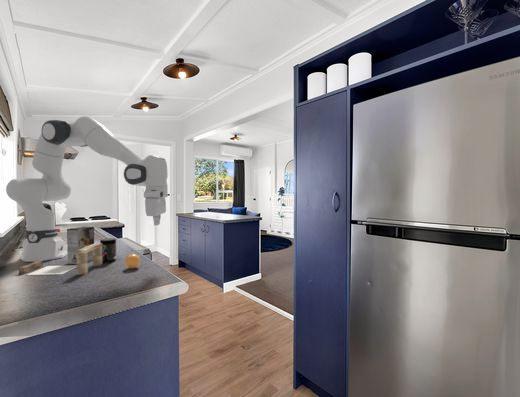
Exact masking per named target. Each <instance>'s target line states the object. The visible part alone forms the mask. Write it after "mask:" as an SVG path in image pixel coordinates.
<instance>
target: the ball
mask: <svg viewBox="0 0 520 397" xmlns="http://www.w3.org/2000/svg"><path fill="white" fill-rule="evenodd" d="M124 264H125V267H127V268H129V269H136V268H137V267H138V266H139V265H140V264H141V258H140V256H139V255H137V254H135V253H133V254H132V253H131V254H129V255H127V256H126V258H125V260H124Z"/></svg>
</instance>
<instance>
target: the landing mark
mask: <svg viewBox="0 0 520 397" xmlns="http://www.w3.org/2000/svg"><path fill="white" fill-rule="evenodd" d="M74 269H77V264H73V265H72V264H70V265H69V264H68V265H46V266H45V267H41V268H38V269H36V270H33V271H31V272H29V273H26V276H49V275H50V276H51V275H52V276H53V275H57V276H58V275H64V274H66V273H68V272H70V271H72V270H74Z"/></svg>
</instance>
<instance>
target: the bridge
mask: <svg viewBox="0 0 520 397" xmlns="http://www.w3.org/2000/svg"><path fill="white" fill-rule="evenodd" d="M91 250H93V260H92V266H93V267H98V266H99V267H101V266H102V265H103V262H102V243H100V242H97V243H96V242H94V244H92V245H89V246H87V247H84V248H82V249H79V250H77V264H76V265H77V267H76V274H77V275H78V276H80V275H84V276H85V275H87V274H88V273H89V261H88V252H89V251H91Z"/></svg>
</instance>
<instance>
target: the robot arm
mask: <svg viewBox="0 0 520 397" xmlns="http://www.w3.org/2000/svg"><path fill="white" fill-rule="evenodd" d="M40 131H41V132H40V135H39V137H38V139H37V141H36V144H35V150H34V153H33V157H32V162H31V165H32V167H33V168H34V169H35V170H36V171H37V172H39V173H41V174H42V176H41V178H38V177H37V178H35V177H23V178H22V177H21V178H12V179H11V180H10V181H8V183H7V184H6V186H5V192H6V195H7V196H8V198H10V199H11V200H13V201H14V202H16V203H17V204H18V205H19V206H20V207H21V209H22V210H23V212H24V216H25V225H26V226H25V229H26V230H25V232H24V238H25V240H24V241H23V243H22V253H21V256H20V257H19V260H22V262H26V263H27V262H31V263H34V262H36V261H43V262H44V261H50V260H56V259H63V258H64V257H66V256H68V254H67V243H66V242H67V241H65V240H63V239H62V238H61V237H60V236H58V235H59V233H61V231H62V230H61V228H56V214H55V212H54V211H53V210H51V209H49V208H46V207H45V206H44V204H43V202H55V201H56V202H57V201H62V200H66V199H68V198H69V197H70V196H71V194H72V193H71V192H72V187H71V186H70V184H69V183H68V181H66V180H65V178H64V177H63V175H62V168H63V167H62V166H63V163H64V162H63V161H64V158H65V153H66V149H67V147H82V148H83V147H84V148H85V147H88V148H89V149H91V150H92V151H94V152H95V153H97V154H99V155H101V156H104V157H108V158H112V159H115V160H118V161H121V162H122V163H124V164H125V165H126V167H125V168H124V170H123V178H124V181H126V182H125V183H127V184H129V185H132V186H139V187H145V191H144V192H143V198H144V205H145V206H144V209H145V214H146V217H152V219H153V225H154V226H159V225H160V224H161V217H162V216H161V215H162V214H165V213H166V212H167V203H166V202H167V201H166V198H168V182H167V181H168V180H167V179H168V174H169V173H168V165H167V161H166V159H165V158H164V157H161V156H157V155H151V154H150V155H147V156H146V157H145V158H144V159H142V158H140V157H139V156H138V155H137V154H136V153H134V152H133V151H132V150H131V149H129V148H128V147H127V146H126V145H125V144H124V143H122V142H121V140H120V139H118V138H117V136H115V135H114V134H113V133H112V132H111V131H110V130H109V129H108V128H107V127H105V126H104V125H103V124H102V123H101V122H99V121H97V120H96V119H94V118H93V117H90V116H87V115H86V116H80V117H78V118H77V119H76V120H75V121H66V120H64V121H63V120H59V119H58V120H57V119H50V120H46V121H45V122H44V123H43V124H42V127H41V130H40Z"/></svg>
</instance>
